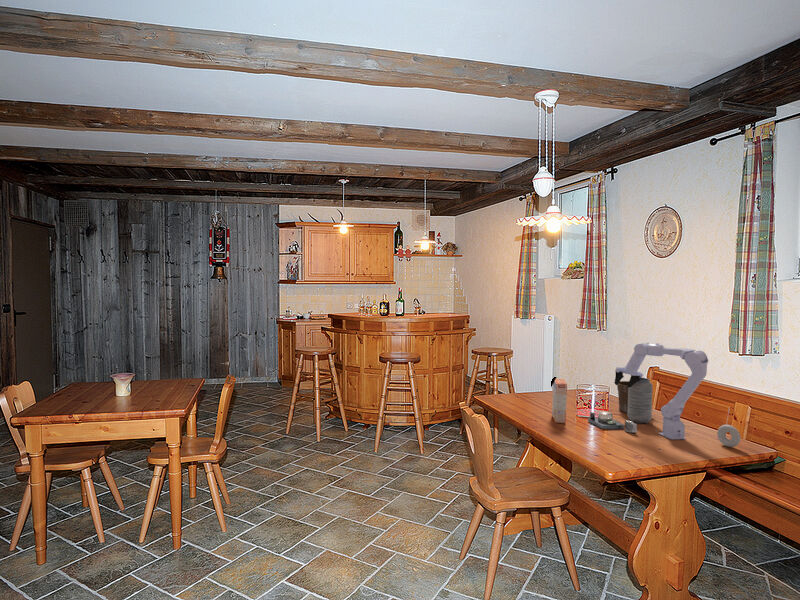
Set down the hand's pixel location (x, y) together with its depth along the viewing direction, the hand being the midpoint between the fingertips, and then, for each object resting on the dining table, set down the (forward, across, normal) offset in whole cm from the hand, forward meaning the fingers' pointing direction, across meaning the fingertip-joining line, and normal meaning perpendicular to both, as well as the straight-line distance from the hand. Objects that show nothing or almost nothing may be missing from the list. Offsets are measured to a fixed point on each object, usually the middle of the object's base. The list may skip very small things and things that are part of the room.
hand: (622, 385), depth 262 cm
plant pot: (+23, -25, -14) cm, 37 cm away
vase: (+17, -17, +5) cm, 24 cm away
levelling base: (+19, +5, +10) cm, 22 cm away
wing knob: (+13, 0, +21) cm, 25 cm away
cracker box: (+28, +24, +1) cm, 37 cm away
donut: (-3, -31, +42) cm, 53 cm away
